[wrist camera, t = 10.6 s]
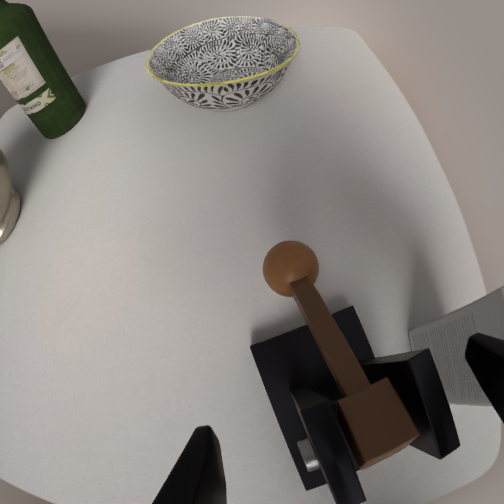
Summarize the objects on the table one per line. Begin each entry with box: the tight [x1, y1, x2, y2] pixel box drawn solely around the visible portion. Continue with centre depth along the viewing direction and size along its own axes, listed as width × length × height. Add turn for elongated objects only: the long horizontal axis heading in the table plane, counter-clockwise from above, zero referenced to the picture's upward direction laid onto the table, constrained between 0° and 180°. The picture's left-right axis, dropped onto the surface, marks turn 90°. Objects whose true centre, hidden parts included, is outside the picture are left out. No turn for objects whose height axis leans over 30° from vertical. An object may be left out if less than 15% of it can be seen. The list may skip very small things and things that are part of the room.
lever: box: [263, 240, 420, 470], centre depth 14 cm, size 13×3×3 cm, turn 19°
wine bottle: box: [0, 0, 86, 139], centre depth 21 cm, size 8×8×30 cm
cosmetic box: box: [408, 286, 504, 406], centre depth 14 cm, size 6×4×12 cm
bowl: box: [146, 16, 300, 111], centre depth 29 cm, size 16×16×8 cm
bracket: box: [250, 305, 460, 504], centre depth 14 cm, size 12×8×13 cm, turn 20°
